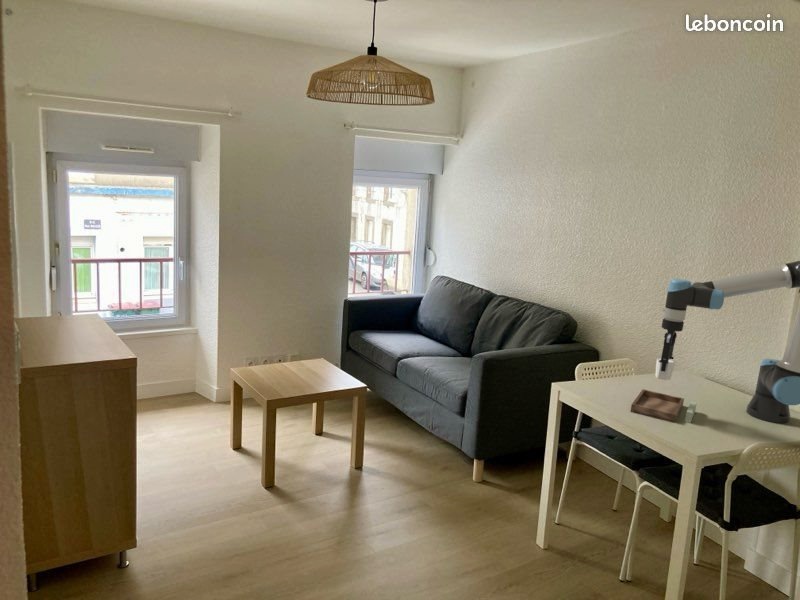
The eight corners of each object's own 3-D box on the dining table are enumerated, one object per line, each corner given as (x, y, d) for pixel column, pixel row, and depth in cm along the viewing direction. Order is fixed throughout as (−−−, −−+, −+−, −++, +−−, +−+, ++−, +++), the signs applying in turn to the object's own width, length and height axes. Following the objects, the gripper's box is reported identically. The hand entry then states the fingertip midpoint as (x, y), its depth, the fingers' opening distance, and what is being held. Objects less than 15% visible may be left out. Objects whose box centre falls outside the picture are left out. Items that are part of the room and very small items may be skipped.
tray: (682, 405, 260) (684, 398, 259) (674, 422, 239) (676, 414, 239) (641, 396, 267) (642, 389, 267) (630, 411, 247) (631, 404, 246)
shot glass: (673, 381, 247) (677, 364, 246) (655, 378, 248) (658, 361, 247) (670, 376, 254) (673, 359, 252) (652, 373, 255) (655, 356, 253)
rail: (695, 411, 254) (696, 401, 253) (690, 423, 240) (692, 412, 239) (689, 410, 255) (691, 400, 254) (684, 421, 241) (686, 411, 240)
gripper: (666, 314, 257) (656, 369, 261) (659, 321, 240) (648, 380, 244) (687, 317, 253) (676, 373, 257) (680, 325, 236) (669, 385, 240)
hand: (663, 376), depth 251 cm, fingers closed on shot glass, 7 cm apart
